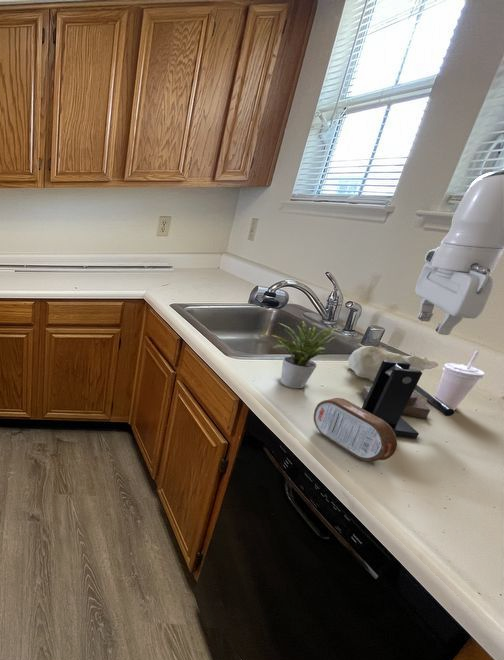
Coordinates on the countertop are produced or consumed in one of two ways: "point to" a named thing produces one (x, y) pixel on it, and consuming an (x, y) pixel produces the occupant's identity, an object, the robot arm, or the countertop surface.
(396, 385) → the bracket
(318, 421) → the tin
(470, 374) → the smoothie
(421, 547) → the countertop surface
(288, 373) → the house plant
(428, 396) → the lever
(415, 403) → the button block
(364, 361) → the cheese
